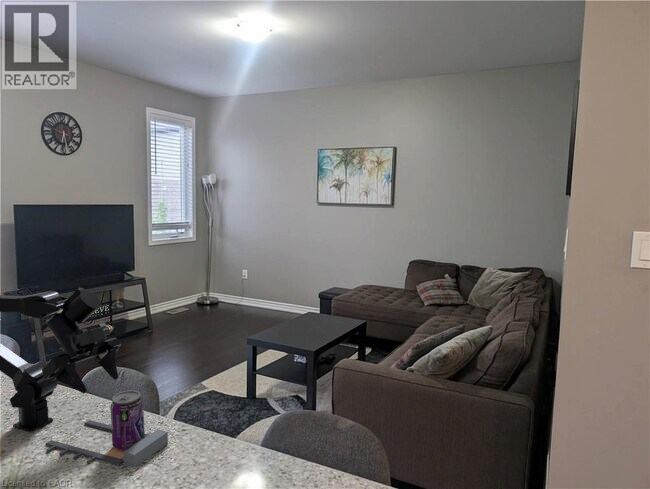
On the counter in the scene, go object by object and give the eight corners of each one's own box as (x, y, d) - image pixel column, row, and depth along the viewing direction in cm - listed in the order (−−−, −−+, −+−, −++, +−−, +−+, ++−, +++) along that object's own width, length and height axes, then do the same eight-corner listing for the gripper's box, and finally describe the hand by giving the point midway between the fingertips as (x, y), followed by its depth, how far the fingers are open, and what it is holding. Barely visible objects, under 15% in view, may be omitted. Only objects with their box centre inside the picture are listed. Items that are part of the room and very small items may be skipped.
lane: (38, 449, 106) (37, 437, 106) (89, 422, 120) (89, 411, 119) (125, 474, 98) (125, 461, 97) (169, 442, 111) (169, 430, 111)
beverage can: (132, 454, 105) (130, 405, 103) (105, 450, 107) (102, 401, 105) (151, 437, 112) (148, 391, 110) (125, 433, 113) (123, 388, 112)
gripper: (50, 323, 103) (86, 380, 100) (116, 307, 120) (148, 355, 117) (26, 351, 107) (60, 407, 104) (93, 332, 124) (124, 379, 121)
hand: (101, 385), depth 111 cm, fingers open, 9 cm apart
